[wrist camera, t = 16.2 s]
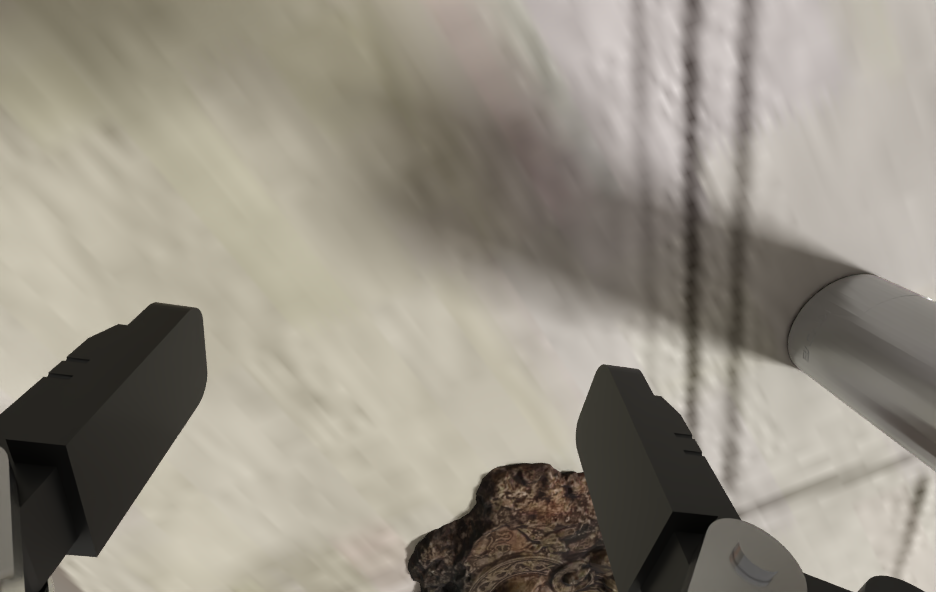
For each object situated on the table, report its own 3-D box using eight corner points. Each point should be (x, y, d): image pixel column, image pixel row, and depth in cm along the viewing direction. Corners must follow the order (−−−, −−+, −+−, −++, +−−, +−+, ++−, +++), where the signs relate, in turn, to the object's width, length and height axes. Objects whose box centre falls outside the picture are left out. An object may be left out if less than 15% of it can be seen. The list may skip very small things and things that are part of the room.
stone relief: (681, 677, 53) (395, 702, 47) (661, 634, 57) (395, 652, 51) (777, 493, 42) (423, 498, 36) (744, 456, 46) (419, 455, 40)
